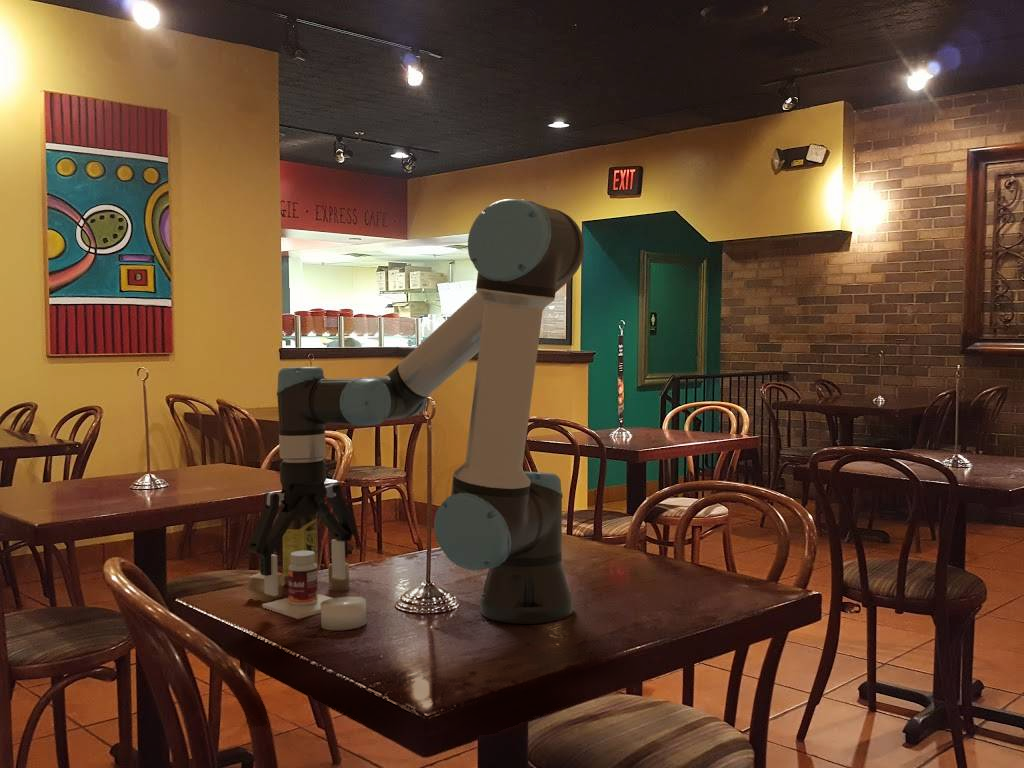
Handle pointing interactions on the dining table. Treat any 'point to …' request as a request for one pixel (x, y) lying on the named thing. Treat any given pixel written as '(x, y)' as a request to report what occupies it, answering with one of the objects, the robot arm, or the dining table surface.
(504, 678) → the dining table surface
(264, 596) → the beech block
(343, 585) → the cork
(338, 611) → the white squat cylinder
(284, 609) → the tile
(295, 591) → the pill bottle
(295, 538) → the sauce bottle
